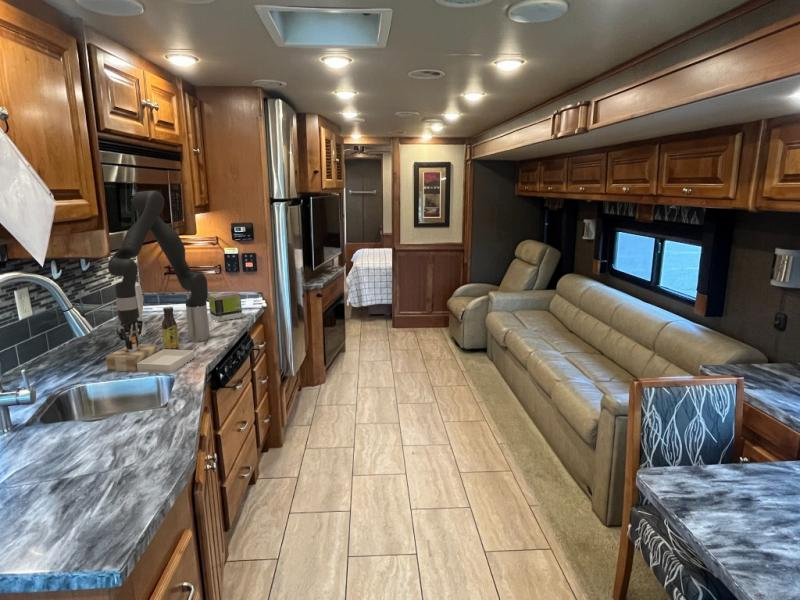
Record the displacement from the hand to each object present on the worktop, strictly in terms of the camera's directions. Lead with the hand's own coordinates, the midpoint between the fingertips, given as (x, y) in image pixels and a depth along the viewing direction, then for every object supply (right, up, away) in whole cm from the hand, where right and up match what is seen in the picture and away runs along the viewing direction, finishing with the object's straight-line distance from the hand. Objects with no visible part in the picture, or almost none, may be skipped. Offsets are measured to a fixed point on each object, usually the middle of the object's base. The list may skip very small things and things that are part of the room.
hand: (132, 347), depth 197 cm
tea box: (+12, +9, +74) cm, 75 cm away
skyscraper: (-21, +2, +42) cm, 47 cm away
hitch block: (0, -7, +2) cm, 7 cm away
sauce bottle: (+7, -3, +19) cm, 21 cm away
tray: (+14, -7, +1) cm, 16 cm away
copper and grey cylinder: (0, -7, +2) cm, 7 cm away
